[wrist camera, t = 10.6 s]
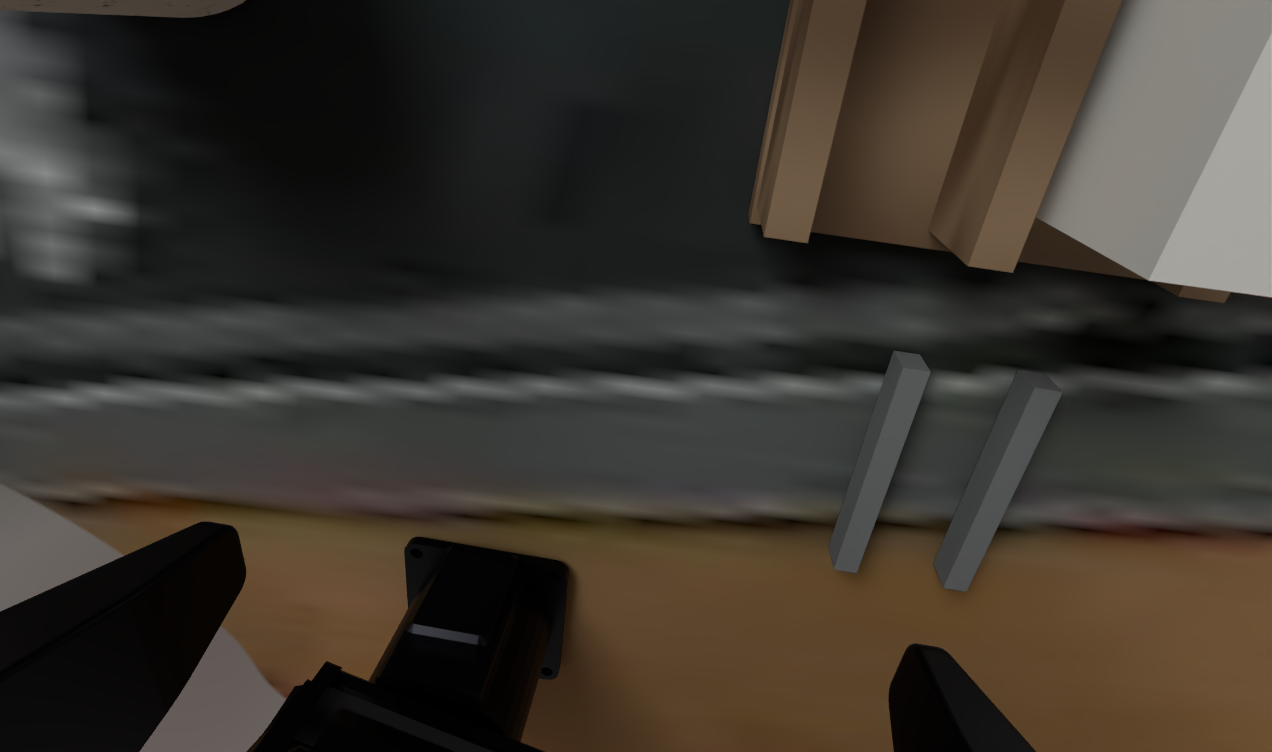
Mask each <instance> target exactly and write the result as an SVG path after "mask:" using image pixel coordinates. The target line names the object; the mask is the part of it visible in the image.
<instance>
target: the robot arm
mask: <svg viewBox="0 0 1272 752" xmlns="http://www.w3.org/2000/svg"><path fill="white" fill-rule="evenodd" d="M417 549H419V550H420V551H418V550H417ZM404 553H405V568H406V583H407V598H408V610H407V612H406V614H405V615H404V617H403V619H402V621H401V623H400V625H399V626H398V628H397V630H396V632H395V634H394V635H393V637H392V639H391V641H390V643H389V645H388V646H387V648H386V650H385V652H384V654H383V655H382V657H381V659H380V661H379V663H378V665H377V666H376V668H375V670H374V672H373V674H372V676H371V677H370V679H369V681H367V680H364V679H362V678H359V677H357V676H354V675H352V674H349V673H347V672H344V671H342V670H341V669H342V667H340V666H337V665H335V664H333V663H330V662H328V661H326V662H325V664H324V665H323V666H322V668H321V669H320V670H319V672H318V673H317V674H316V676H315V677H314V679H313V680H312V681H310V680H308V679H307V680H306V682H305V683H304V684H303V685H300V686H295V687H294V689H293V690H292V692H291V693H290V695H289V696H288V698H287V699H286V701H285V702H284V704H283V705H282V707H281V708H280V710H279V711H278V713H277V714H276V716H275V717H274V719H273V720H272V722H271V723H270V725H269V726H268V727H267V729H266V730H265V731H264V733H263V734H262V735H261V736H260V737H259V739H258V740H257V741H256V742H255V743H254V744H253V745H252V746H251V747H250V748H249V749H248V751H247V752H544V751H542V750H539V749H537V748H534V747H532V746H529V745H527V744H524V743H522V742H521V738H522V735H523V731H524V728H525V724H526V721H527V717H528V714H529V710H530V707H531V703H532V700H533V696H534V693H535V689H536V686H537V682H538V679H539V678H542V679H550V680H551V679H554V678H556V677H557V675H558V673H559V669H560V663H561V652H562V641H563V630H564V618H565V607H566V596H567V585H568V574H569V571H568V568H567V566H566V565H565V564H564V563H562V562H560V561H557V560H552V559H546V558H540V557H534V556H528V555H522V554H516V553H511V552H505V551H499V550H493V549H487V548H481V547H475V546H470V545H464V544H458V543H452V542H446V541H440V540H434V539H429V538H423V537H414V538H412V539H411V540H410V541H409V542H408V544H407V546H406V547H405V551H404ZM552 572H555V573H557V574H559V575H555V574H553V573H552ZM245 578H246V566H245V562H244V557H243V553H242V548H241V544H240V539H239V535H238V532H237V530H236V529H235V528H234V527H233V526H230V525H225V524H219V523H214V522H200V523H197V524H194V525H192V526H190V527H188V528H185V529H183V530H181V531H179V532H177V533H174V534H172V535H170V536H168V537H165V538H163V539H161V540H159V541H156V542H154V543H152V544H150V545H148V546H145V547H143V548H141V549H139V550H136V551H134V552H132V553H130V554H128V555H125V556H123V557H121V558H119V559H116V560H114V561H112V562H110V563H108V564H105V565H103V566H101V567H99V568H96V569H94V570H92V571H90V572H88V573H85V574H83V575H81V576H79V577H76V578H74V579H72V580H70V581H67V582H65V583H63V584H61V585H59V586H56V587H54V588H52V589H50V590H47V591H45V592H43V593H41V594H38V595H36V596H34V597H32V598H30V599H27V600H25V601H23V602H21V603H19V604H16V605H14V606H12V607H10V608H7V609H5V610H3V611H1V612H0V752H139V751H140V750H141V749H142V747H143V746H144V744H145V743H146V742H147V740H148V739H149V737H150V736H151V735H152V733H153V732H154V730H155V729H156V727H157V726H158V725H159V723H160V722H161V721H162V719H163V718H164V716H165V715H166V714H167V712H168V711H169V709H170V708H171V706H172V705H173V703H174V702H175V700H176V699H177V697H178V696H179V694H180V693H181V691H182V690H183V688H184V687H185V685H186V683H187V682H188V680H189V678H190V677H191V675H192V673H193V672H194V670H195V668H196V667H197V665H198V663H199V661H200V660H201V658H202V656H203V655H204V653H205V651H206V649H207V648H208V646H209V644H210V643H211V641H212V639H213V637H214V636H215V634H216V632H217V630H218V629H219V627H220V625H221V624H222V622H223V620H224V619H225V617H226V615H227V613H228V612H229V610H230V608H231V607H232V605H233V603H234V601H235V600H236V598H237V596H238V595H239V593H240V591H241V589H242V587H243V585H244V582H245ZM889 711H890V721H891V730H892V739H893V749H894V752H1036V751H1035V750H1034V749H1033V748H1032V747H1031V745H1030V744H1029V743H1028V742H1027V741H1026V740H1025V739H1024V738H1023V736H1022V735H1021V734H1020V733H1019V732H1018V731H1017V730H1016V729H1015V727H1014V726H1013V725H1012V724H1011V723H1010V722H1009V721H1008V719H1007V718H1006V717H1005V716H1004V715H1003V714H1002V713H1001V712H1000V710H999V709H998V708H997V707H996V706H995V705H994V704H993V703H992V701H991V700H990V699H989V698H988V697H987V696H986V695H985V694H984V692H983V691H982V690H981V689H980V688H979V687H978V686H977V685H976V683H975V682H974V681H973V680H972V679H971V678H970V677H969V676H968V674H967V673H966V672H965V671H964V670H963V669H962V668H961V667H960V665H959V664H958V663H957V662H956V661H955V660H954V659H953V657H952V656H951V655H950V654H949V653H948V652H946V651H945V650H944V649H942V648H939V647H934V646H928V645H922V644H916V643H915V644H911V645H909V646H908V647H907V649H906V650H905V653H904V655H903V657H902V659H901V661H900V664H899V666H898V668H897V670H896V673H895V675H894V677H893V679H892V682H891V684H890V688H889Z"/></svg>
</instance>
